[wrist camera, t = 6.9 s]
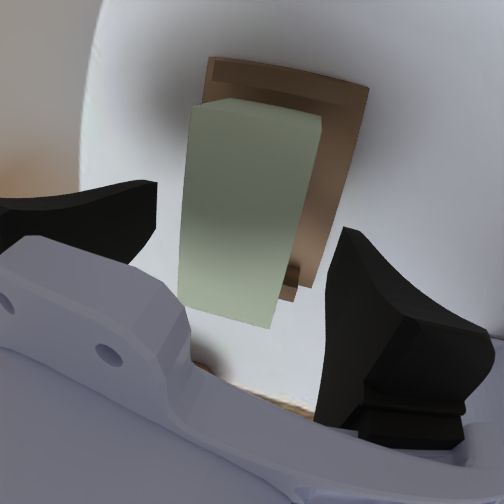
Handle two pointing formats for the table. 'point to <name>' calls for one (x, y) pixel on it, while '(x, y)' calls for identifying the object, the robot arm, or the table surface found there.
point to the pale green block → (242, 205)
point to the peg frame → (328, 153)
